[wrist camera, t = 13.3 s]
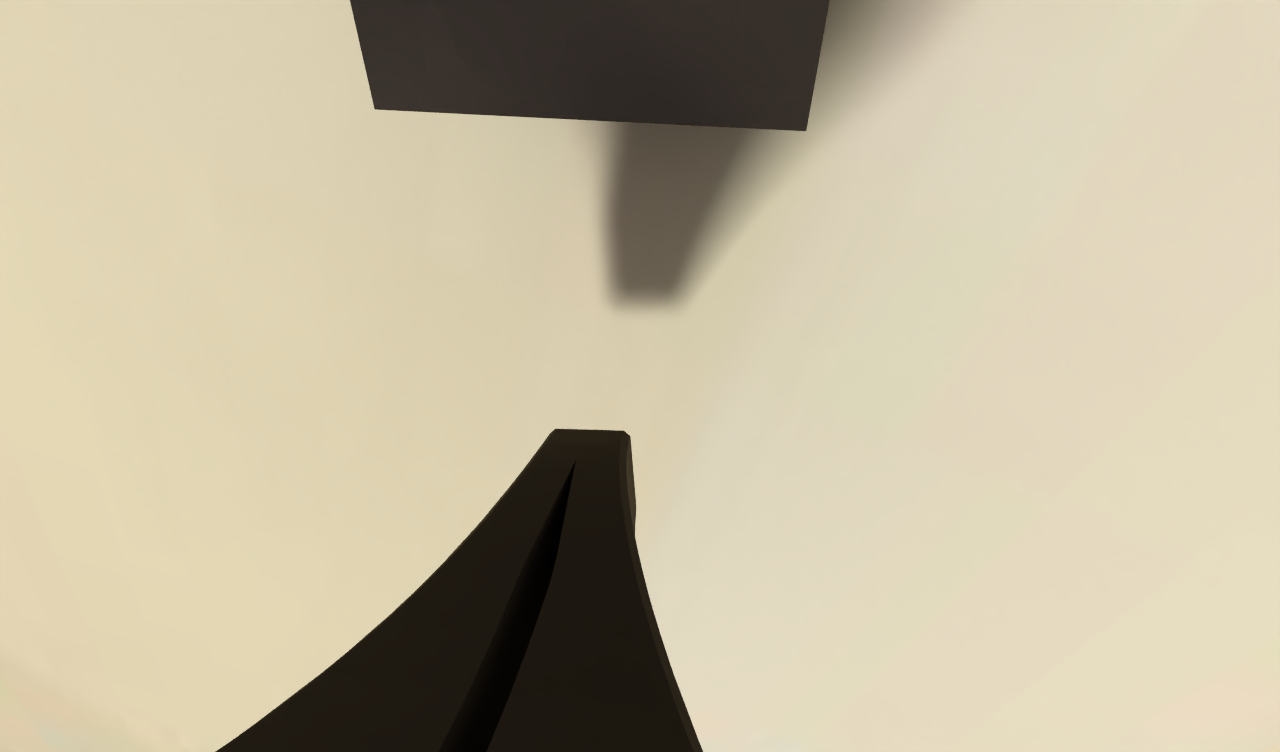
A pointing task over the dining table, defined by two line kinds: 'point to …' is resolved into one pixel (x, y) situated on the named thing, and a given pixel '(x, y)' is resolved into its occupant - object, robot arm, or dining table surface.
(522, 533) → the robot arm
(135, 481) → the dining table surface
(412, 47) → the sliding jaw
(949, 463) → the dining table surface
